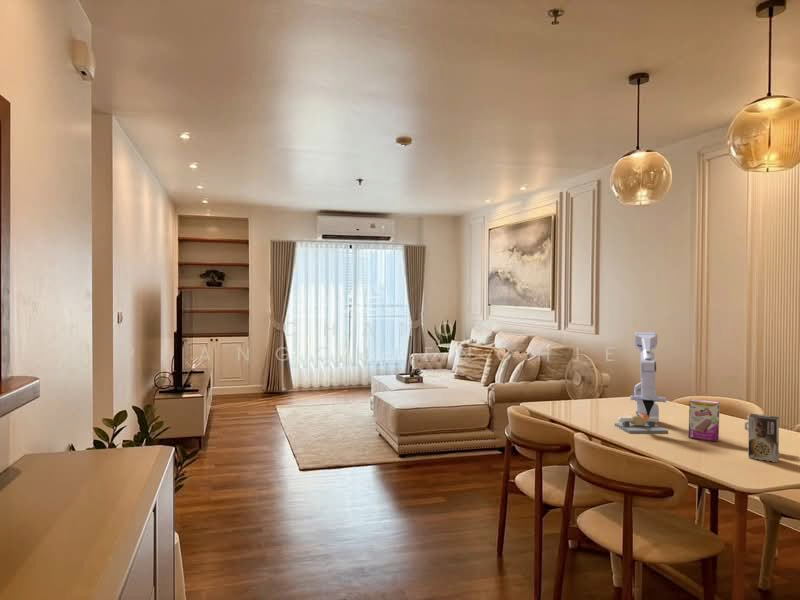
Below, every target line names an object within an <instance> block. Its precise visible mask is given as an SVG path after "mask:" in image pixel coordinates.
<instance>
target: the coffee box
mask: <svg viewBox="0 0 800 600" xmlns="http://www.w3.org/2000/svg"><path fill="white" fill-rule="evenodd" d="M779 417H780V416H773V415H767V414H765V415H764V414H759V413H758V414H757V413H749V415H748V416H747V422H748V424H747V427H748V429H749V432H748V446H747V447H748V450H747V451H748V453H747V454H748V457H749V458H748V457H747V458H748V459H751V458H754V459H753V460H757V459H759V460H758V461H763V460H766V461H765V462H769V461H772V462H771V463H775V462H777V461H778V462H779V460H780V455H779V454H780V453H779V452H780V450H779V447H780V445H779V443H780V441H779V439H780V436H779V435H780V433H779V432H780V428H779V426H780V425H779V424H780V422H779V421H780V418H779ZM778 462H777V463H778Z"/></svg>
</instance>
